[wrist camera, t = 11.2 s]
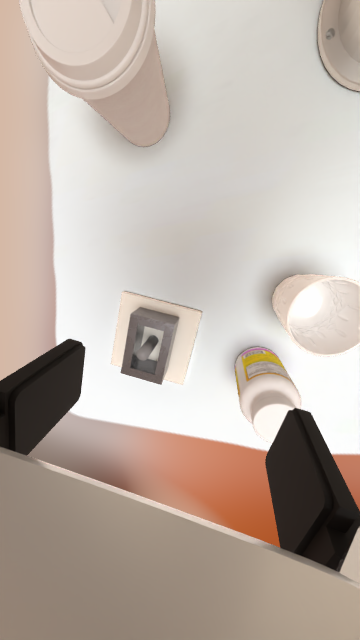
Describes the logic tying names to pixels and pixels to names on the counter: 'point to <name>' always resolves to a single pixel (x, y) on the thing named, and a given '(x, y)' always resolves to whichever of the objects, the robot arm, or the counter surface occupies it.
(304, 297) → the white cup
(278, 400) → the supplement bottle
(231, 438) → the counter surface
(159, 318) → the link
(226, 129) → the counter surface
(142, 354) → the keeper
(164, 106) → the coffee cup
